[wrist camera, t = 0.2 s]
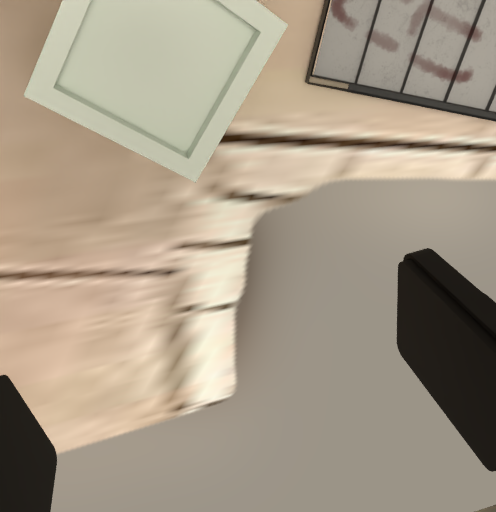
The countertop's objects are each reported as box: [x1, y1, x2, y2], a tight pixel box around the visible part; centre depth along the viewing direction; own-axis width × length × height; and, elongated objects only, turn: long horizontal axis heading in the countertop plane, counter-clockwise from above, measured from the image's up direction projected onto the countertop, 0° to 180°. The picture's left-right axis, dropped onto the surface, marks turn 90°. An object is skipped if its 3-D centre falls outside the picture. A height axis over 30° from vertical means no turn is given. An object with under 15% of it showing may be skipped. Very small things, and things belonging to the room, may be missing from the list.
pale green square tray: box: [24, 0, 288, 183], centre depth 34 cm, size 14×14×2 cm
